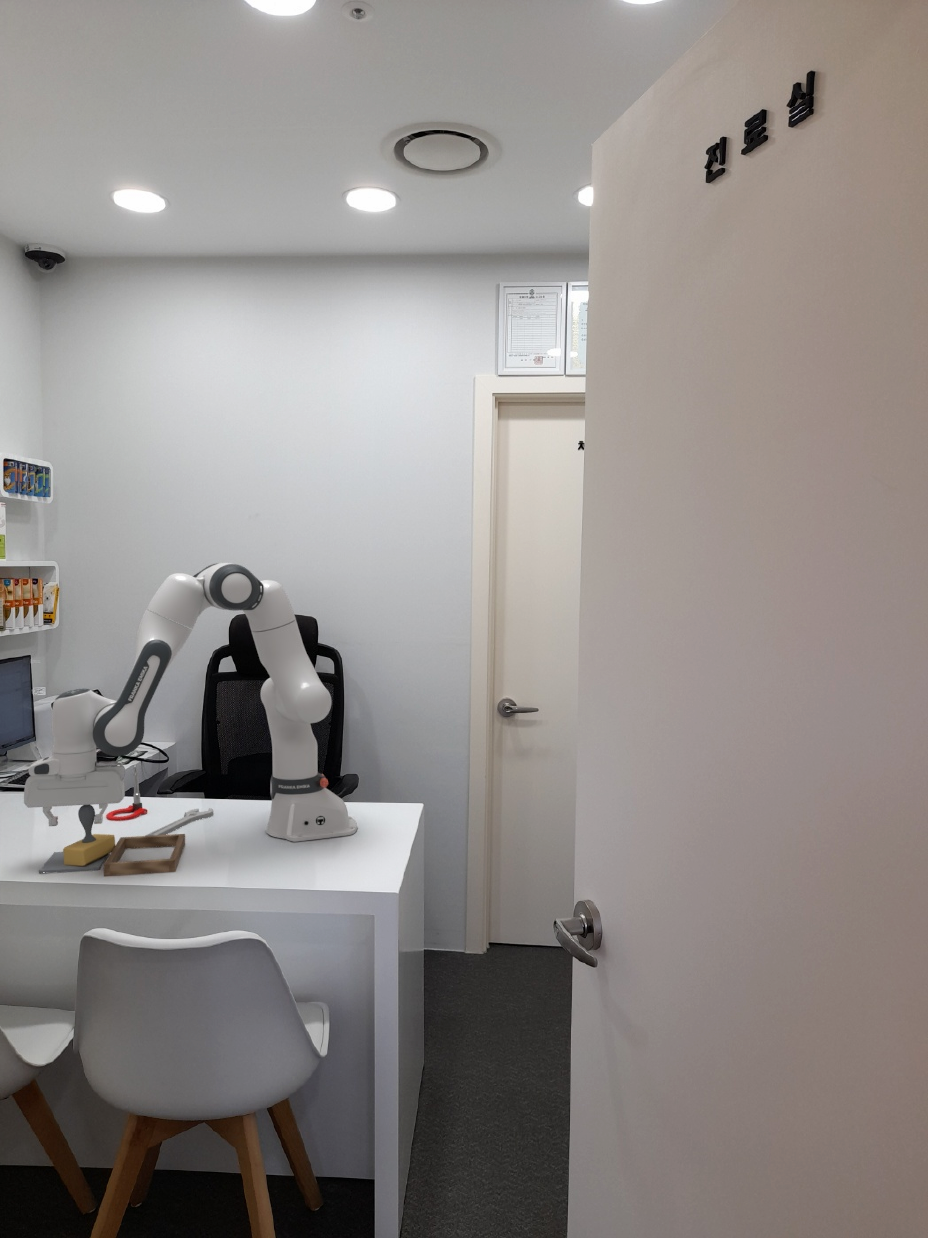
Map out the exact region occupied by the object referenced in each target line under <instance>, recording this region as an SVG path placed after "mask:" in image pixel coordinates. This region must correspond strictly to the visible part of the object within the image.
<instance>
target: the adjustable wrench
mask: <svg viewBox="0 0 928 1238" xmlns="http://www.w3.org/2000/svg"><path fill="white" fill-rule="evenodd" d="M199 810H200V809H199V808H194V809H191V810H188V811H187V812H186V811H185V812H184V814H183V817H181V818H180V819H177V820H175V821H173V822H171V823H169V824H166V825H165V826H162V827H161V828H158V829H156V830H154V831H152V832H149V833H147V834H145V835H144V836H154V835H166V834H167V835H169V834H170V833H173V832H174V831H177V830H179V829H181V828H183V827H184V826H187V825H188V824H190V823H193V822H196V820H197V821H199V819H200V820H203V819H202V818H205V819H208V817H209V818H211V816H212V817H214V809H213V808H211V807H210V808H208V810H204V811H199ZM182 826H183V827H182ZM180 827H181V828H180ZM176 829H177V830H176ZM168 833H169V834H168Z"/></svg>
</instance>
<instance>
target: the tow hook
mask: <svg viewBox="0 0 928 1238" xmlns="http://www.w3.org/2000/svg"><path fill="white" fill-rule="evenodd" d="M137 769H138V767H137V765H133V773H132V775H133V777H132V778H133V803H132V804H131V805H128V806H127V807H126V808H125V807H124V808H119V809H115V810H112V811H109V812H108V813H106V815H105V818H106V820H108V821H111V822H113V821H114V822H122V821H129V820H133V819H135V818H137V817H140V815H146V814H147V813H148V809H146V808H143V802H141V793H140V790H139V789H140V787H139V772H138V770H137ZM131 812H132V813H131ZM125 813H131V814H128V815H120V816H116V815H119V814H125Z"/></svg>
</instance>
